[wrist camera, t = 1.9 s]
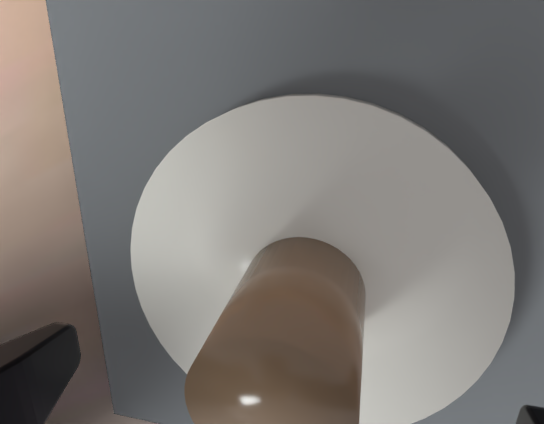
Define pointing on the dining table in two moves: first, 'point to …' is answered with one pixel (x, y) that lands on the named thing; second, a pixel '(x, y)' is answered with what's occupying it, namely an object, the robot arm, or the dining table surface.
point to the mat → (301, 80)
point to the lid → (320, 265)
